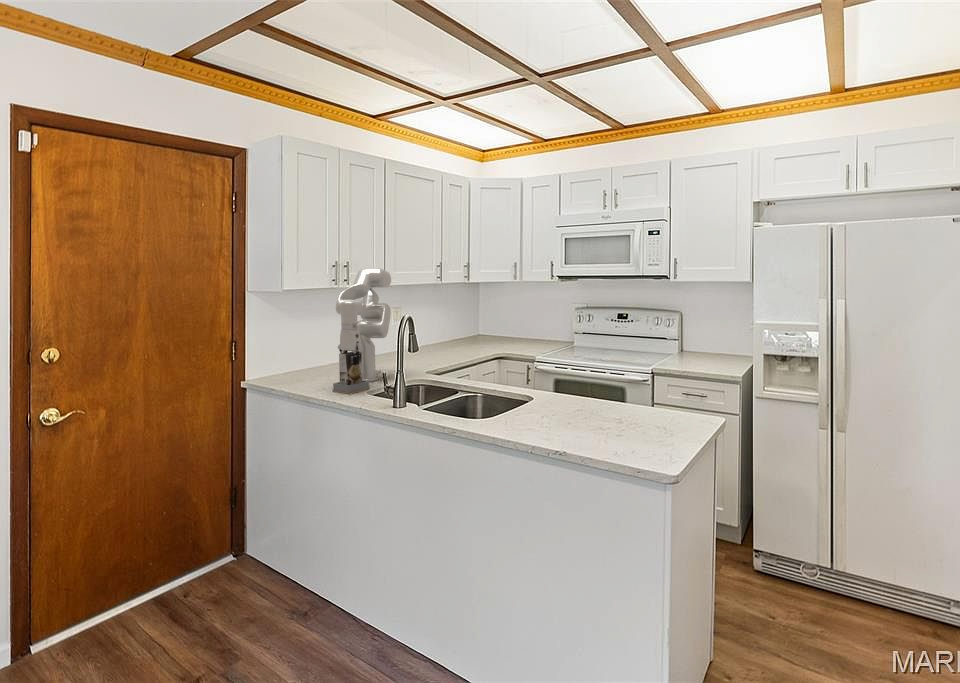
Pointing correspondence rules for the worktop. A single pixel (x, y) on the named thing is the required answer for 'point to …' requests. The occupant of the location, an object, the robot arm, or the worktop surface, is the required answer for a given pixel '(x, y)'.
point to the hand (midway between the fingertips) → (350, 363)
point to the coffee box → (349, 369)
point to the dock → (351, 387)
